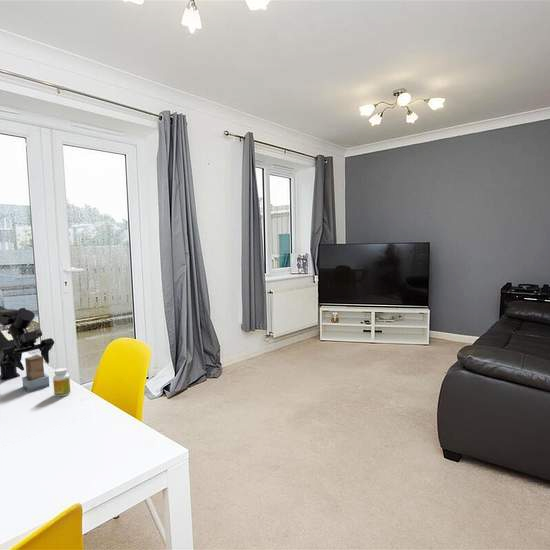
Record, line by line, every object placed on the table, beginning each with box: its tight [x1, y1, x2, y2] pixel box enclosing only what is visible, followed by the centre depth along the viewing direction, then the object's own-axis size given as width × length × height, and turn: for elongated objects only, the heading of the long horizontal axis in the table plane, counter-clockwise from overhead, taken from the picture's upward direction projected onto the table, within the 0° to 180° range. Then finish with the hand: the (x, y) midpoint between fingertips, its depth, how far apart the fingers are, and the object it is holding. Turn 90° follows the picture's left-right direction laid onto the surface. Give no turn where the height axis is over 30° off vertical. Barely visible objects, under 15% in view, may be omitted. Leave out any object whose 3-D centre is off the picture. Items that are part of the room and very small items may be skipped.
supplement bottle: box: [52, 367, 71, 398], centre depth 144 cm, size 5×5×10 cm
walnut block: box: [24, 354, 45, 381], centre depth 151 cm, size 4×4×11 cm
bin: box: [21, 373, 50, 392], centre depth 152 cm, size 7×7×4 cm
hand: (36, 366), depth 151 cm, fingers open, 9 cm apart
